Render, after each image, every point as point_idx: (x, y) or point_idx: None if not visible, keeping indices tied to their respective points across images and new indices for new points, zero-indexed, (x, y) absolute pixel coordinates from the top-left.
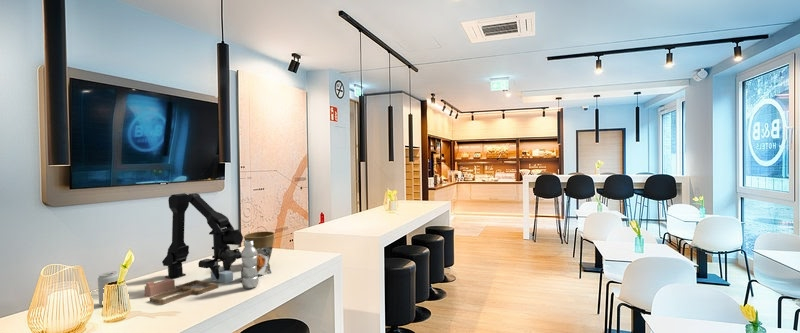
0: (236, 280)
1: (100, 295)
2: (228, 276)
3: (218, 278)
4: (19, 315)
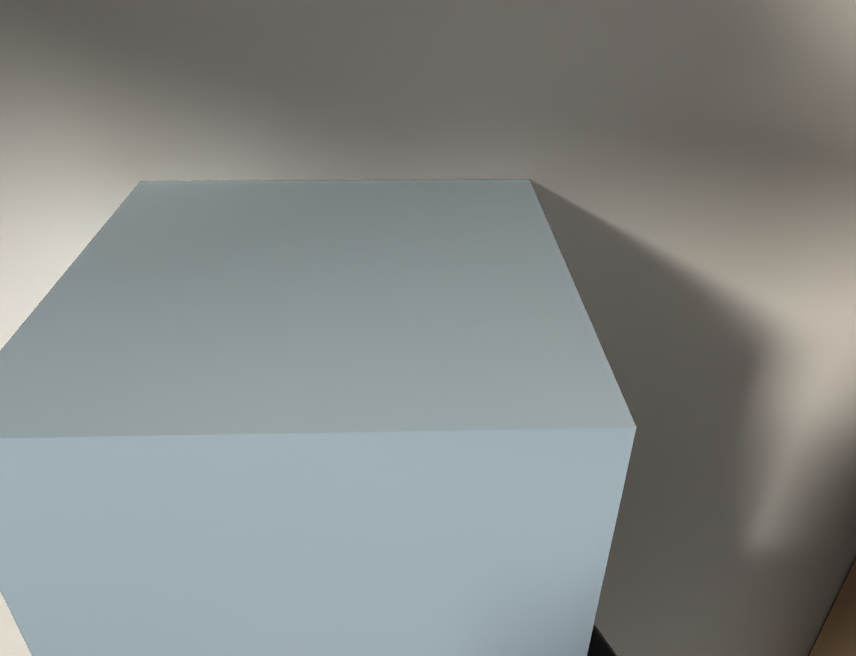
0: (52, 7)
1: None
2: (363, 297)
3: None
4: None
